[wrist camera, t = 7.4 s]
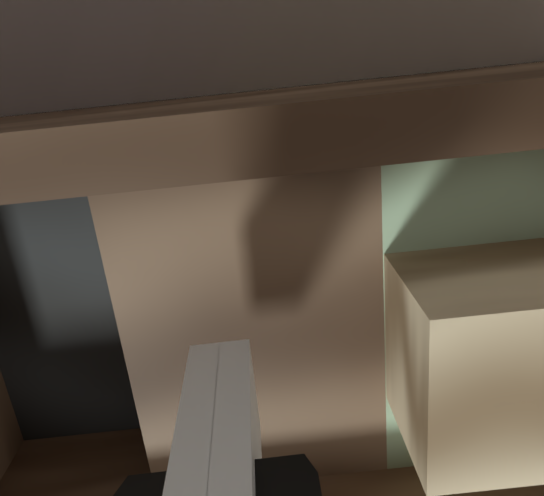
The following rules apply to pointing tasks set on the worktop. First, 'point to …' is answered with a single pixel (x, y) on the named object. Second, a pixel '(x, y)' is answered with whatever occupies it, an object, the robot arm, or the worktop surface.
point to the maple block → (468, 363)
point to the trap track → (241, 263)
